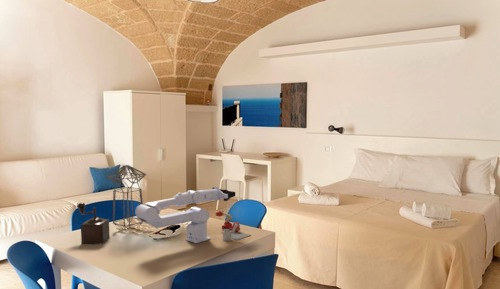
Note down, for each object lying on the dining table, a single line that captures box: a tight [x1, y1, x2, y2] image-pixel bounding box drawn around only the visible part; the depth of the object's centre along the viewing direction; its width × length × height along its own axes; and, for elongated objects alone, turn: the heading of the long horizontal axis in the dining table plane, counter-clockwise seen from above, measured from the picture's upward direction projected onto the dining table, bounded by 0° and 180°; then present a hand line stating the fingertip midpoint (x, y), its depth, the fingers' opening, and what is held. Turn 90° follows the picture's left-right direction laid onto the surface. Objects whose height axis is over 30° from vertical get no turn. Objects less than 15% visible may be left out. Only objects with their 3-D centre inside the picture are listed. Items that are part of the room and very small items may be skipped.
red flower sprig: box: [215, 210, 241, 232], centre depth 211 cm, size 3×14×10 cm, turn 58°
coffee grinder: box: [76, 202, 111, 245], centre depth 196 cm, size 16×11×18 cm
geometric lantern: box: [106, 164, 147, 233], centre depth 211 cm, size 16×16×35 cm
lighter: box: [222, 224, 237, 241], centre depth 196 cm, size 7×2×8 cm, turn 86°
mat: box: [232, 231, 252, 241], centre depth 202 cm, size 10×10×1 cm
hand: (230, 192), depth 208 cm, fingers open, 7 cm apart
